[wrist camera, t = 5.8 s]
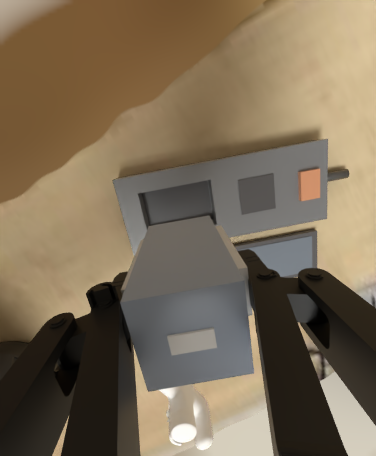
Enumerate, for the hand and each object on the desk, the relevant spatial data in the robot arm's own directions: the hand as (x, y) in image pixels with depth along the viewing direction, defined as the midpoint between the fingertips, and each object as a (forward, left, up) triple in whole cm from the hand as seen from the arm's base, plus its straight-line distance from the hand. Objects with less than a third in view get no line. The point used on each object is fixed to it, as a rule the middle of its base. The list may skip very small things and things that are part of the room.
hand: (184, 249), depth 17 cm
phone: (+12, -11, -15) cm, 22 cm away
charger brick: (0, 0, 0) cm, 0 cm away
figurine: (-4, -21, -15) cm, 26 cm away
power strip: (+8, 0, -15) cm, 17 cm away
